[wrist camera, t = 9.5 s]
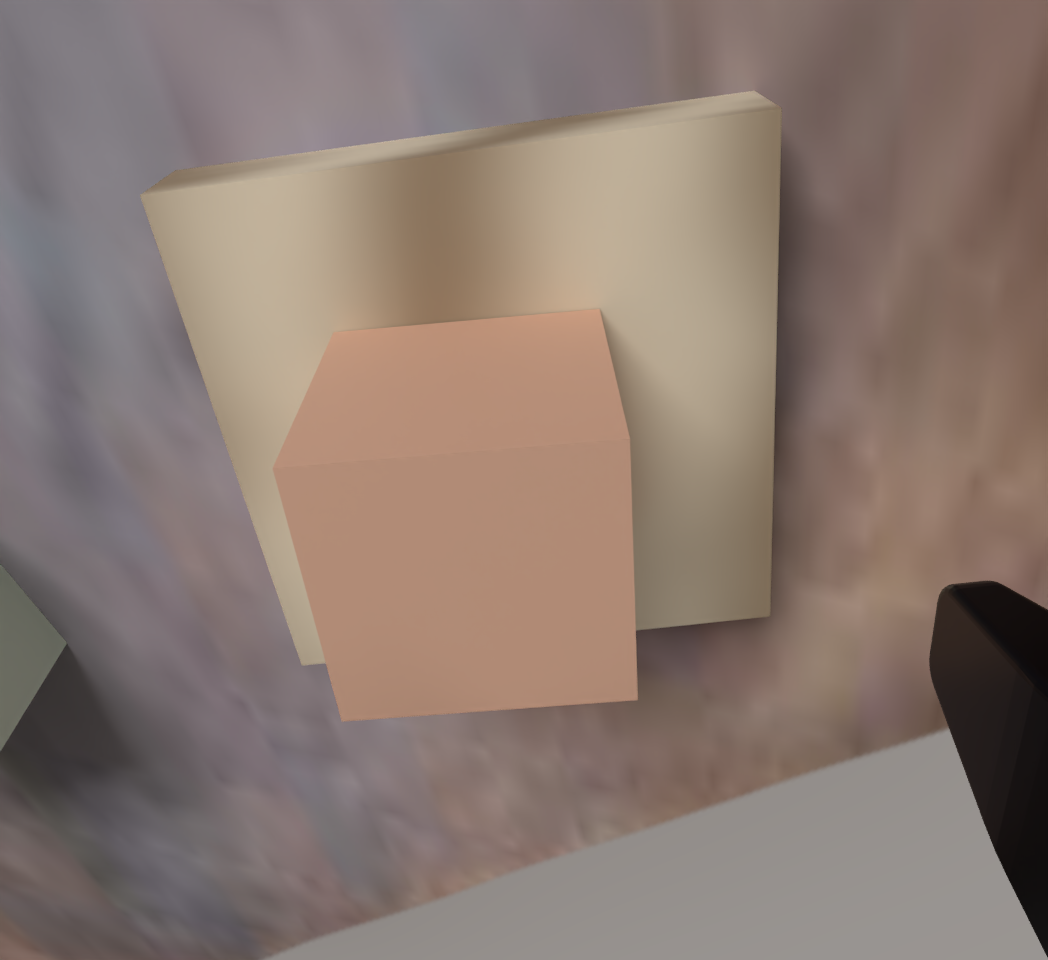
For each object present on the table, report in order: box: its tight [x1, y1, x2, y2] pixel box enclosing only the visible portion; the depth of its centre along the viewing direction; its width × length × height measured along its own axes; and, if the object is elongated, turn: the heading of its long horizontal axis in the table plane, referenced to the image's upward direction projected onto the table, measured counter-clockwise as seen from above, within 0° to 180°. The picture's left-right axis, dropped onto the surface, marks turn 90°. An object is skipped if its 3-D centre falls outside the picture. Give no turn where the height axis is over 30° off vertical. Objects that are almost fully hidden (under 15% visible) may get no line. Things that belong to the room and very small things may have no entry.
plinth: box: [140, 91, 782, 665], centre depth 19 cm, size 11×11×2 cm
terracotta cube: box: [273, 309, 638, 721], centre depth 16 cm, size 5×5×5 cm
